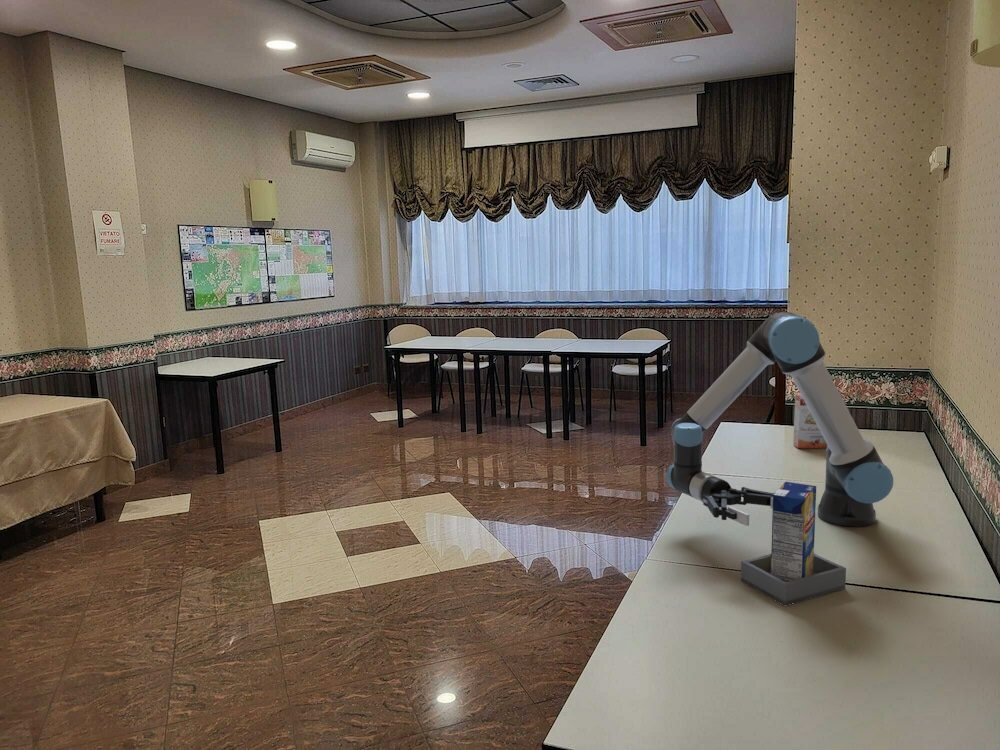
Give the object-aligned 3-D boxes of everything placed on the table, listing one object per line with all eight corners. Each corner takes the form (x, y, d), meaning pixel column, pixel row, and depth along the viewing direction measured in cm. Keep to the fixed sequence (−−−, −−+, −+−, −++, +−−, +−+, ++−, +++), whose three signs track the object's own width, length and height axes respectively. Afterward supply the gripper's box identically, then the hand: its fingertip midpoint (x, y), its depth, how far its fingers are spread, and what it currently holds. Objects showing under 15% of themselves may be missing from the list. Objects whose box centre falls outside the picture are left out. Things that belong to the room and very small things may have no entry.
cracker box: (798, 449, 283) (800, 395, 280) (792, 445, 289) (794, 392, 286) (835, 448, 283) (837, 394, 279) (829, 444, 289) (831, 391, 285)
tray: (798, 566, 183) (799, 546, 182) (845, 588, 171) (846, 568, 170) (740, 581, 176) (741, 561, 175) (784, 606, 164) (785, 584, 163)
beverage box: (770, 586, 171) (772, 494, 167) (783, 568, 180) (785, 481, 176) (801, 593, 167) (804, 499, 163) (813, 575, 176) (816, 485, 172)
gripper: (747, 496, 203) (808, 520, 184) (672, 512, 193) (728, 539, 174) (748, 469, 201) (809, 491, 182) (672, 484, 191) (729, 509, 172)
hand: (770, 515), depth 178 cm, fingers open, 13 cm apart
